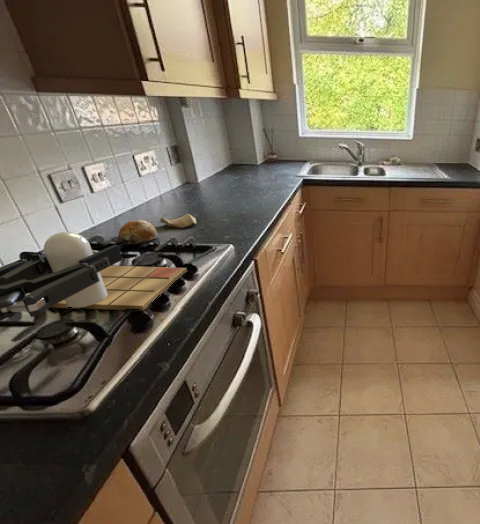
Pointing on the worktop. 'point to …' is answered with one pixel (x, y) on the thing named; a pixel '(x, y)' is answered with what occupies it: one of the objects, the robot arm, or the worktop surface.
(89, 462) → the worktop surface
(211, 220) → the worktop surface
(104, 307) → the game board
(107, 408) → the worktop surface
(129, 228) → the bread roll
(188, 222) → the pottery shard
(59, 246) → the white domed cylinder
